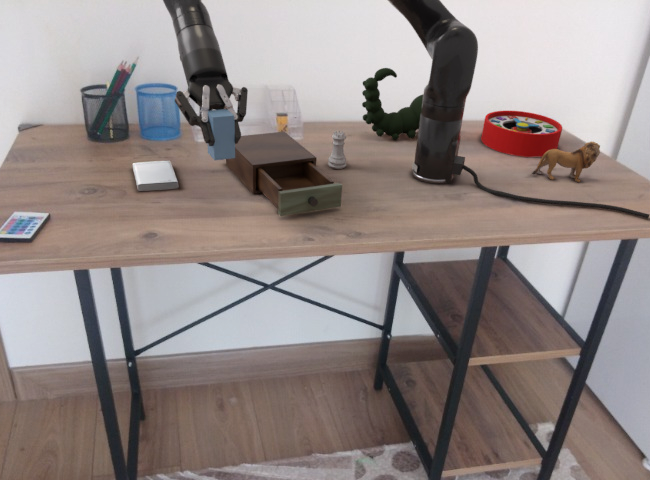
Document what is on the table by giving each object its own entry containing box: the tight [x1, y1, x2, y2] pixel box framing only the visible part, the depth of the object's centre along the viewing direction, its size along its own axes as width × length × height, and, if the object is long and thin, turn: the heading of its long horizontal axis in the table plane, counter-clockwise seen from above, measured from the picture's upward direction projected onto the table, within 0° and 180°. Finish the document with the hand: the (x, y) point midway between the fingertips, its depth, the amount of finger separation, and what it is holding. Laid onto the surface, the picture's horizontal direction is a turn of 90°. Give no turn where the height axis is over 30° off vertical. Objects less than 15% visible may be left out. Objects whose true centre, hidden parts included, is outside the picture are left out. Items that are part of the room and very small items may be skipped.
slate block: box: [206, 109, 235, 161], centre depth 118 cm, size 4×4×8 cm
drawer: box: [256, 161, 343, 217], centre depth 132 cm, size 18×13×5 cm
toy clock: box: [480, 110, 563, 158], centre depth 171 cm, size 20×6×20 cm
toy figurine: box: [361, 67, 423, 141], centre depth 167 cm, size 9×19×25 cm
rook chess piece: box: [327, 130, 347, 170], centre depth 149 cm, size 4×4×8 cm
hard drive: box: [132, 160, 179, 192], centre depth 138 cm, size 2×8×12 cm
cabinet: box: [225, 131, 317, 195], centre depth 142 cm, size 17×14×6 cm
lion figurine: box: [531, 141, 601, 183], centre depth 151 cm, size 15×5×9 cm, turn 92°
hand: (224, 142), depth 117 cm, fingers closed on slate block, 4 cm apart
